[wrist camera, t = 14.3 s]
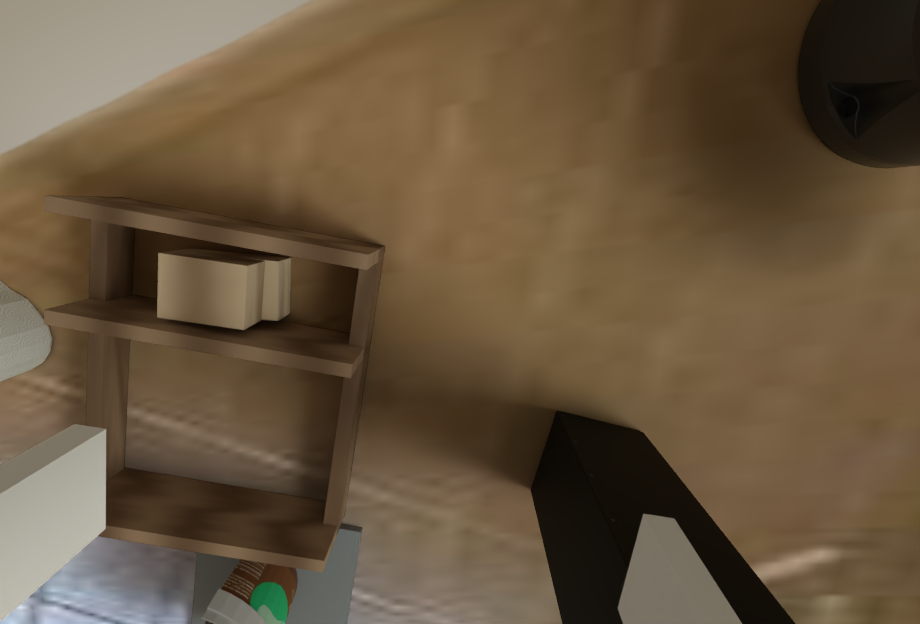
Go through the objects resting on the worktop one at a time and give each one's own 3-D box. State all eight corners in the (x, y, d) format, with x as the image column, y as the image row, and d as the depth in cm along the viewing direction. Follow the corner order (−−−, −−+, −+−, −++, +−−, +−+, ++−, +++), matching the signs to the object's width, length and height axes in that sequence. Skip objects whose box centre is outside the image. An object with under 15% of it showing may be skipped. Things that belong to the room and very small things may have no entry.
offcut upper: (265, 261, 36) (247, 266, 33) (261, 320, 37) (243, 330, 34) (183, 249, 36) (158, 252, 33) (181, 308, 37) (157, 317, 34)
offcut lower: (292, 257, 39) (278, 261, 36) (291, 312, 40) (277, 320, 37) (191, 247, 39) (169, 251, 36) (192, 303, 40) (171, 310, 37)
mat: (362, 527, 44) (360, 532, 43) (341, 656, 47) (339, 662, 46) (204, 501, 43) (201, 505, 43) (193, 633, 46) (190, 638, 46)
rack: (385, 246, 38) (368, 254, 32) (344, 514, 43) (322, 572, 37) (120, 197, 38) (44, 195, 31) (110, 475, 43) (42, 527, 36)
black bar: (528, 490, 43) (645, 992, 15) (555, 408, 41) (738, 807, 14) (614, 510, 43) (876, 1036, 16) (644, 430, 42) (993, 862, 14)
